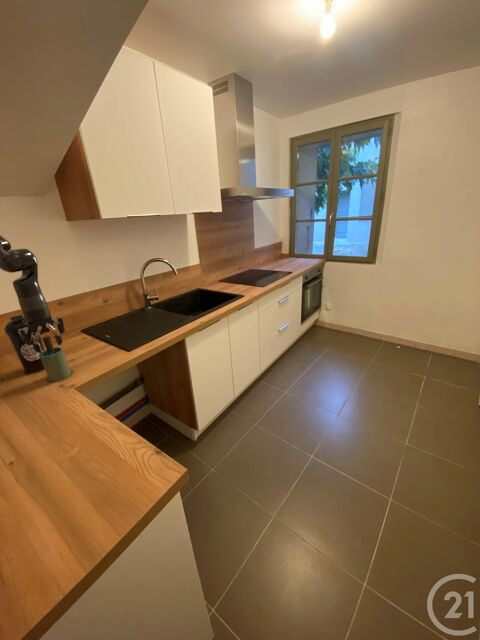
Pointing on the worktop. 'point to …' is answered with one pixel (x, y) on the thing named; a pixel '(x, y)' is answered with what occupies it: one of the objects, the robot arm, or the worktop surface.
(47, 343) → the brush
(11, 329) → the water bottle
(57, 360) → the cup
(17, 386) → the worktop surface
